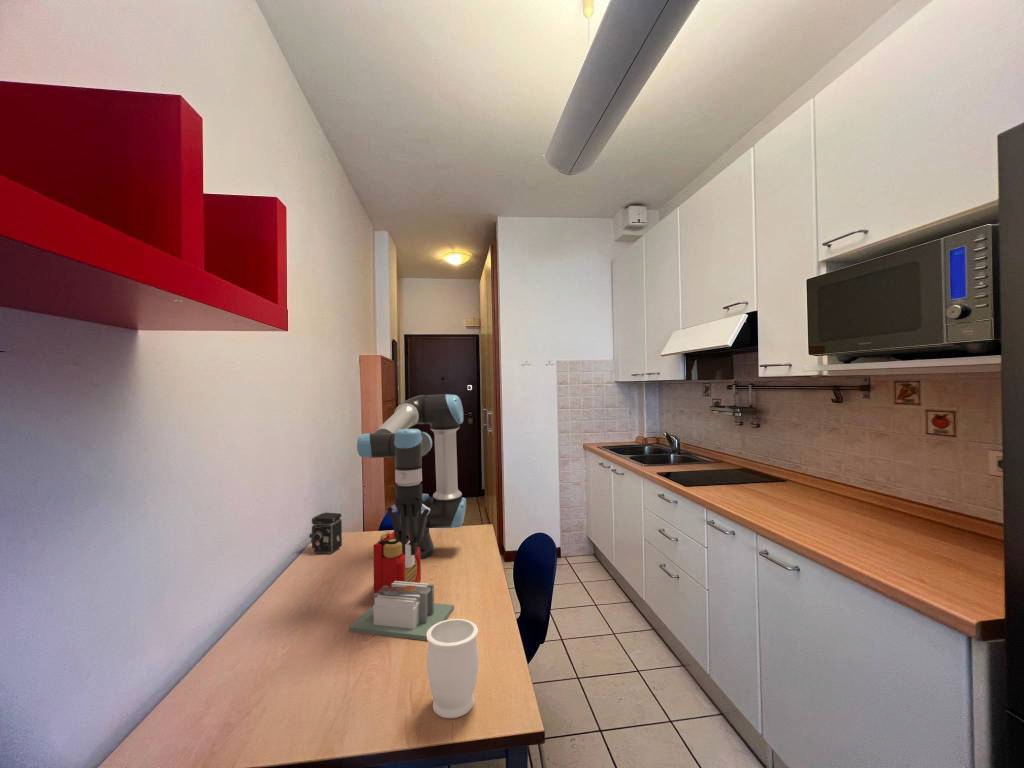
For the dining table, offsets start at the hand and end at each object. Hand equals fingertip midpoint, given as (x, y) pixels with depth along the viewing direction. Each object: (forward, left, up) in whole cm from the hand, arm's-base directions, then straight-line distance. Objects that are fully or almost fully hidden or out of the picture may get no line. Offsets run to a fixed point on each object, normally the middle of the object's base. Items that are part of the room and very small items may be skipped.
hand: (410, 565), depth 123 cm
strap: (0, -2, -8) cm, 9 cm away
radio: (-16, -12, -16) cm, 25 cm away
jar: (+29, +24, -16) cm, 41 cm away
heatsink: (0, -2, -15) cm, 16 cm away
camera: (-44, -61, -16) cm, 77 cm away
